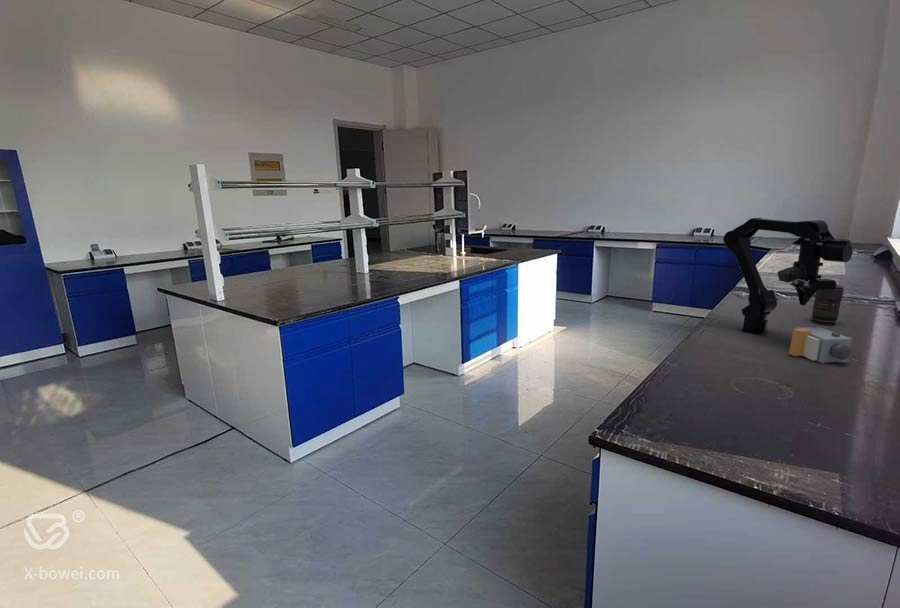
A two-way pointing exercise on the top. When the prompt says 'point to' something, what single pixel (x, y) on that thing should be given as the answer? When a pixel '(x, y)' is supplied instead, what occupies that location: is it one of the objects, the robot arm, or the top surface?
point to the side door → (804, 344)
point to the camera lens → (827, 305)
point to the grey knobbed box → (831, 345)
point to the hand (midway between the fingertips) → (802, 305)
